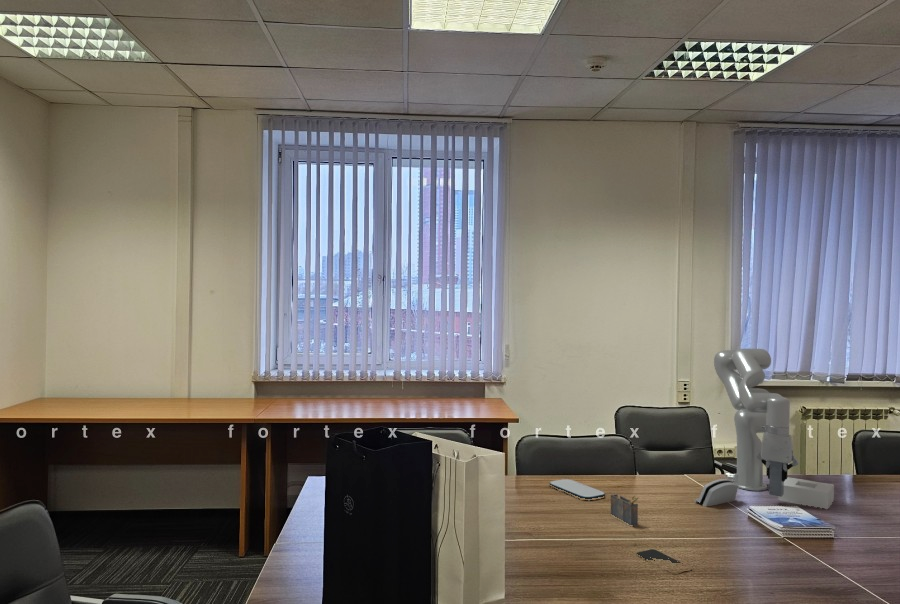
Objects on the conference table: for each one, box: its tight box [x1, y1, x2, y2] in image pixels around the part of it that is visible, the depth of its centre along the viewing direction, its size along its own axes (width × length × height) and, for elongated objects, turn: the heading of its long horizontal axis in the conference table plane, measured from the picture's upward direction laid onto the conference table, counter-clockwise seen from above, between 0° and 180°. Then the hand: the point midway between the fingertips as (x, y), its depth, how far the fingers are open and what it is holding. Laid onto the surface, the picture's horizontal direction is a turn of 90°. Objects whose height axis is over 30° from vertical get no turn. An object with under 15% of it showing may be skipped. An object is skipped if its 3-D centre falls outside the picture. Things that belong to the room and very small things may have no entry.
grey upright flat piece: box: [610, 493, 639, 526], centre depth 205 cm, size 11×3×10 cm, turn 20°
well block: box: [778, 476, 835, 510], centre depth 229 cm, size 16×14×6 cm
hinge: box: [694, 478, 739, 508], centre depth 225 cm, size 17×5×10 cm, turn 118°
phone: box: [636, 549, 684, 564], centre depth 172 cm, size 7×1×15 cm
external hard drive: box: [548, 478, 606, 499], centre depth 238 cm, size 24×12×2 cm, turn 29°
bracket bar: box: [768, 461, 784, 497], centre depth 224 cm, size 4×4×14 cm
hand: (776, 478), depth 225 cm, fingers closed on bracket bar, 4 cm apart
